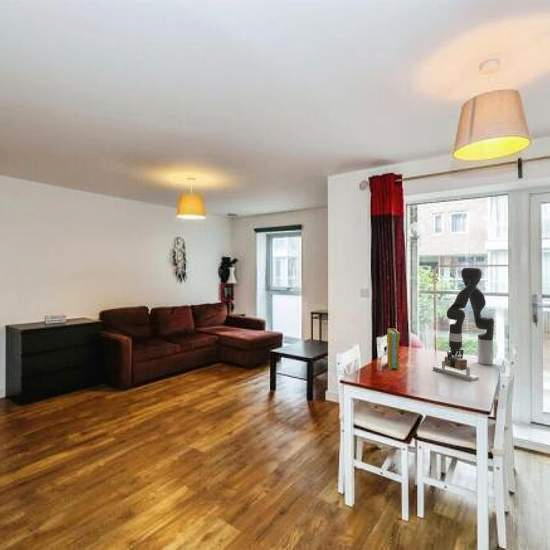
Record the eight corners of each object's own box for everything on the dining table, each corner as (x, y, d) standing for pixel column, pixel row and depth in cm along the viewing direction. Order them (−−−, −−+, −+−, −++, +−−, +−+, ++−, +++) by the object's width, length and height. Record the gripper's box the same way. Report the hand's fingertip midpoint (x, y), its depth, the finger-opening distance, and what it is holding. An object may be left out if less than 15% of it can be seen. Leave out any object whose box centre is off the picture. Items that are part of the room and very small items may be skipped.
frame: (444, 365, 228) (444, 356, 228) (449, 364, 230) (449, 355, 230) (461, 370, 217) (462, 360, 217) (466, 369, 220) (466, 359, 220)
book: (399, 369, 234) (399, 333, 233) (389, 369, 235) (389, 332, 235) (396, 362, 251) (396, 328, 250) (386, 362, 252) (386, 328, 251)
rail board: (440, 368, 237) (440, 358, 237) (478, 378, 214) (478, 368, 214) (432, 370, 233) (433, 360, 233) (470, 381, 210) (470, 370, 210)
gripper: (453, 342, 217) (453, 369, 217) (467, 339, 224) (467, 366, 224) (443, 340, 223) (442, 366, 224) (457, 337, 230) (456, 363, 231)
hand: (455, 366), depth 224 cm, fingers closed on frame, 5 cm apart
